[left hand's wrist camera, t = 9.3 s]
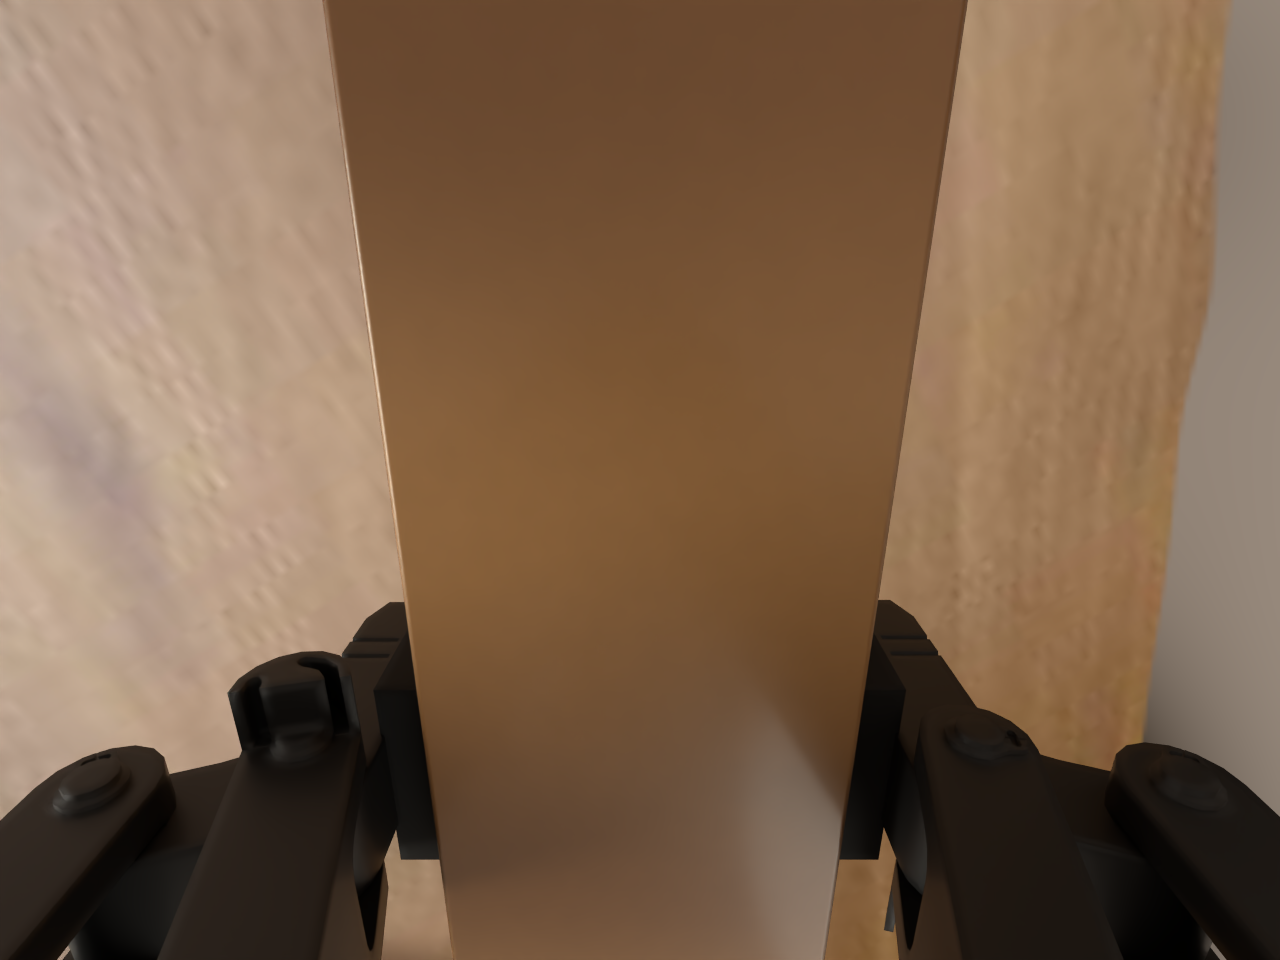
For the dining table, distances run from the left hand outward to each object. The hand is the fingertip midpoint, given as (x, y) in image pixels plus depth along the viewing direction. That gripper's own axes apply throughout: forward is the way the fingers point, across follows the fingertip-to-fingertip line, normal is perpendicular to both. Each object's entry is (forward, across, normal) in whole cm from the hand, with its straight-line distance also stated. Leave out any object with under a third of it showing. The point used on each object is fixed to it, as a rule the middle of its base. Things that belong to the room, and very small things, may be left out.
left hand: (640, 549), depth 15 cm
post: (0, 0, -26) cm, 26 cm away
